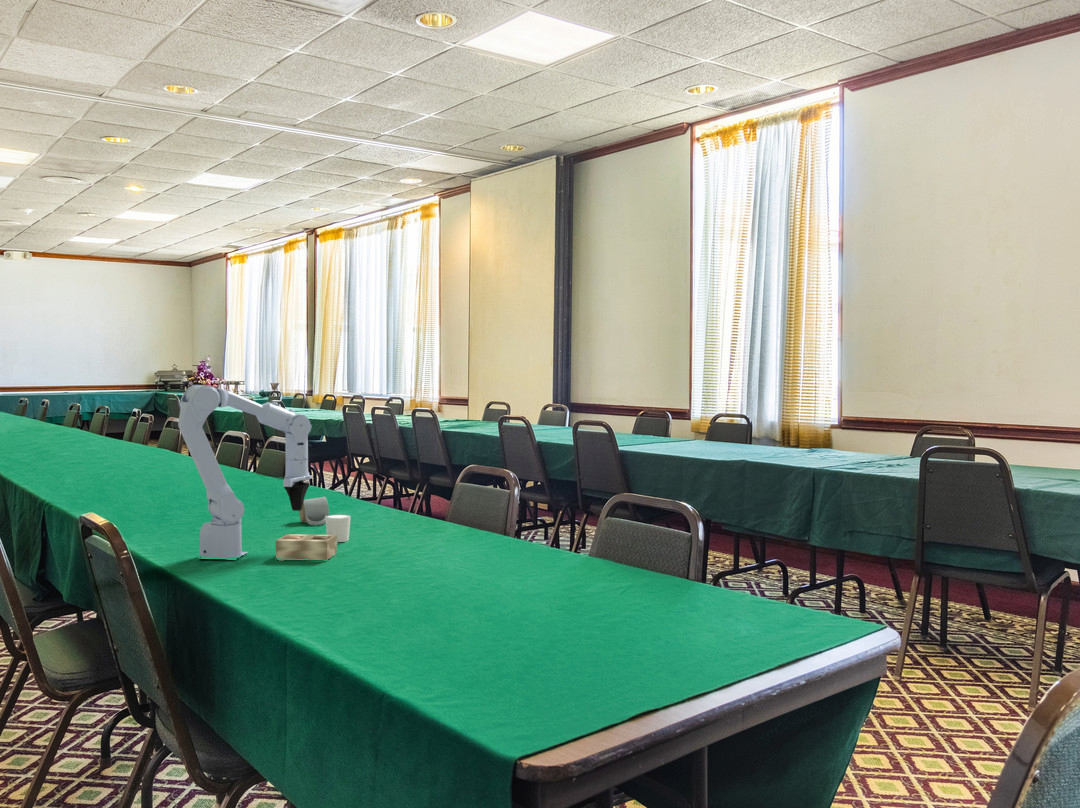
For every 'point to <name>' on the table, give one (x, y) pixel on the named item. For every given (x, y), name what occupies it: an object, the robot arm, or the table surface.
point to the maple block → (306, 547)
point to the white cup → (338, 526)
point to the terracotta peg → (293, 537)
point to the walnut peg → (320, 538)
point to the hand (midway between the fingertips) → (297, 510)
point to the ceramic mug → (314, 511)
